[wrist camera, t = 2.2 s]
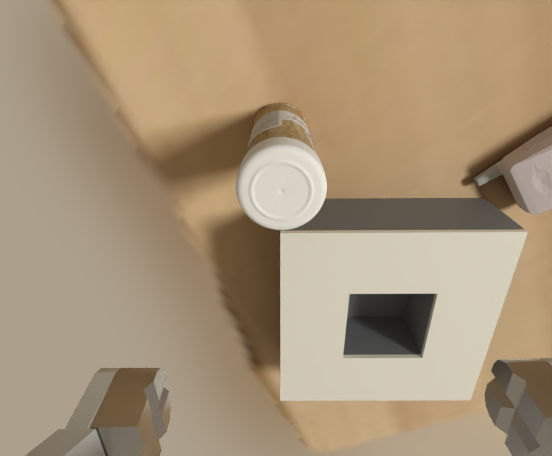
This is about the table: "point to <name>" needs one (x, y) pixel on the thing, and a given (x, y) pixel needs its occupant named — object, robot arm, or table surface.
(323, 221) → the socket block
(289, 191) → the sprinkles bottle
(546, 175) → the mobile phone
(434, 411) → the table surface
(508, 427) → the robot arm
